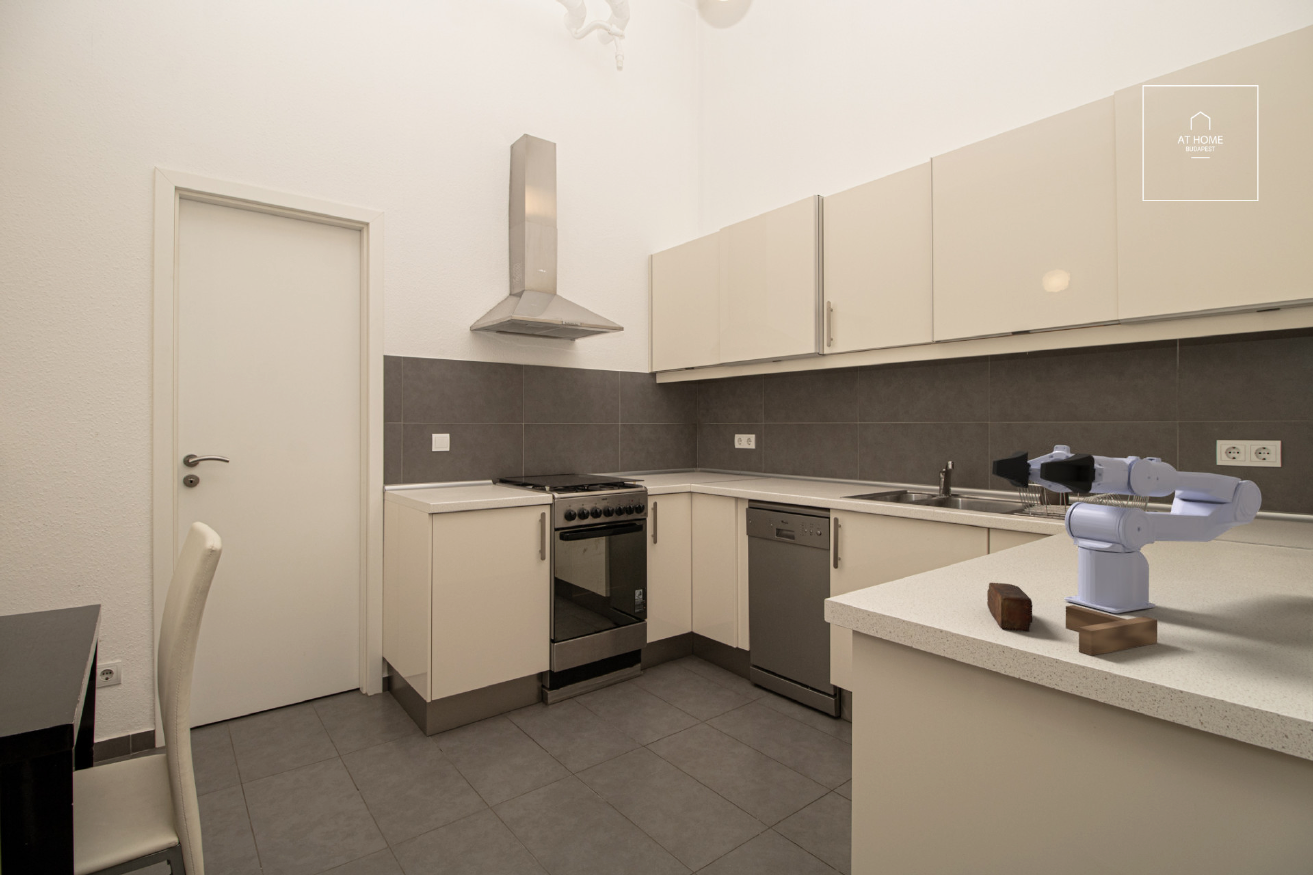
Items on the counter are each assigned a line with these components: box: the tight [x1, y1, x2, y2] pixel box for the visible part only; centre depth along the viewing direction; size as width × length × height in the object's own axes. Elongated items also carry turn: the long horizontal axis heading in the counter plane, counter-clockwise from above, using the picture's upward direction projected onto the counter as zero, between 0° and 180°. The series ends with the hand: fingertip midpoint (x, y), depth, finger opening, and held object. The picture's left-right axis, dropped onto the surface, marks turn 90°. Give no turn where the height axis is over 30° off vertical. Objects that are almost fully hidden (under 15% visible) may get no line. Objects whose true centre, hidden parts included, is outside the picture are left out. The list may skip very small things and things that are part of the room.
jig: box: [1065, 604, 1158, 657], centre depth 82 cm, size 12×8×3 cm
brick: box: [986, 582, 1034, 632], centre depth 90 cm, size 11×4×5 cm, turn 161°
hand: (1017, 469), depth 90 cm, fingers open, 7 cm apart
